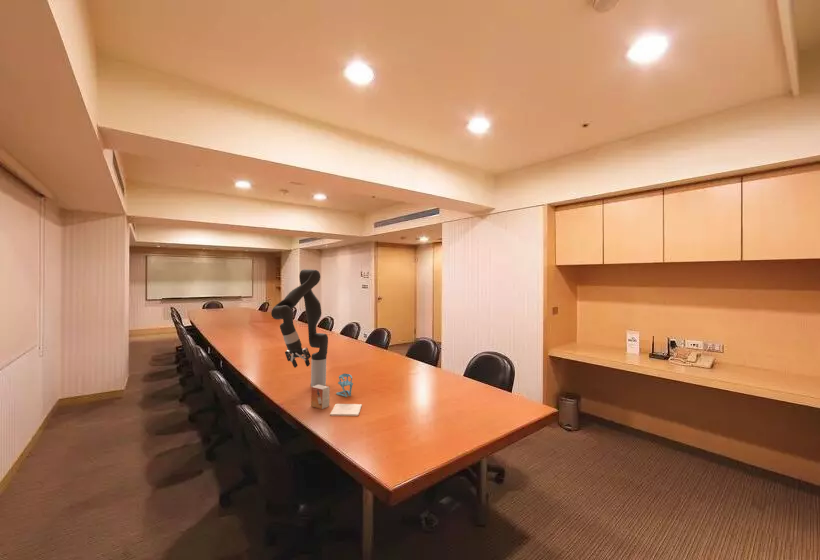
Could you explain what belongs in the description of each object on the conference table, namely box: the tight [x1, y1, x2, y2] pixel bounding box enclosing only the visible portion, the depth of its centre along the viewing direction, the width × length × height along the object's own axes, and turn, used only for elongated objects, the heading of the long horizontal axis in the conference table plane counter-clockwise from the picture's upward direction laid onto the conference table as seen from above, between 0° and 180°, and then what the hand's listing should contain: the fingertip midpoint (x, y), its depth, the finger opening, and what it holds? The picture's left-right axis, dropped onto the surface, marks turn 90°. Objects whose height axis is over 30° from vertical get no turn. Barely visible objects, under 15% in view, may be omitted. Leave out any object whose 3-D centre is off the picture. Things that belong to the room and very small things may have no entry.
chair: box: [336, 373, 354, 398], centre depth 199 cm, size 8×8×12 cm
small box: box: [310, 384, 331, 410], centre depth 180 cm, size 8×6×10 cm
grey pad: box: [329, 403, 363, 417], centre depth 175 cm, size 14×14×1 cm
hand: (302, 366), depth 187 cm, fingers open, 8 cm apart
